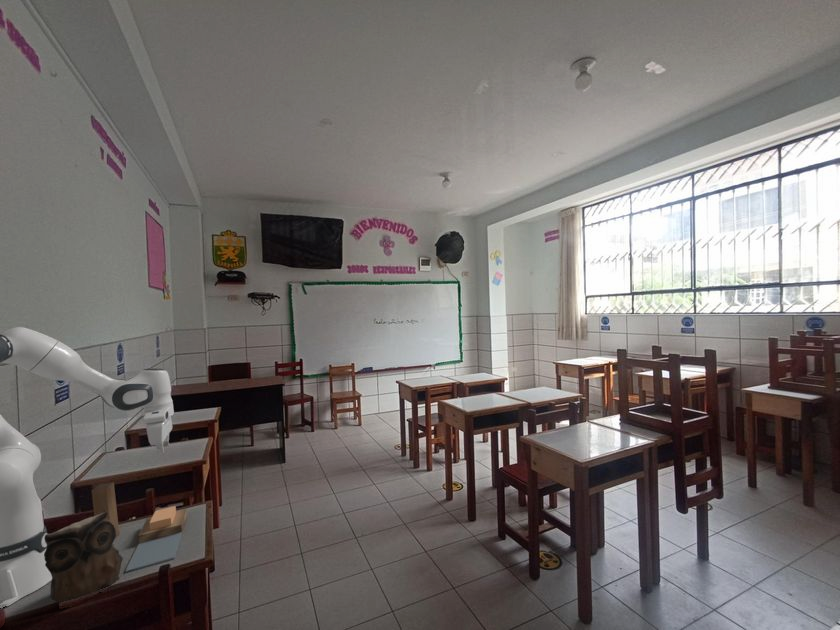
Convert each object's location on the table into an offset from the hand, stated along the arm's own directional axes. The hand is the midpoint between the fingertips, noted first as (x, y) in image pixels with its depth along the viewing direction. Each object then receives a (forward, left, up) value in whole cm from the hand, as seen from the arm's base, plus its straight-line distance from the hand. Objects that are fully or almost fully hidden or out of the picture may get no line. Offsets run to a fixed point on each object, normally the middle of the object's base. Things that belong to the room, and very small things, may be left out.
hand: (163, 449), depth 143 cm
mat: (0, -24, -24) cm, 34 cm away
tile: (0, -10, -21) cm, 24 cm away
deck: (0, -10, -24) cm, 26 cm away
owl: (-14, -34, -25) cm, 44 cm away
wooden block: (-19, -5, -25) cm, 32 cm away
